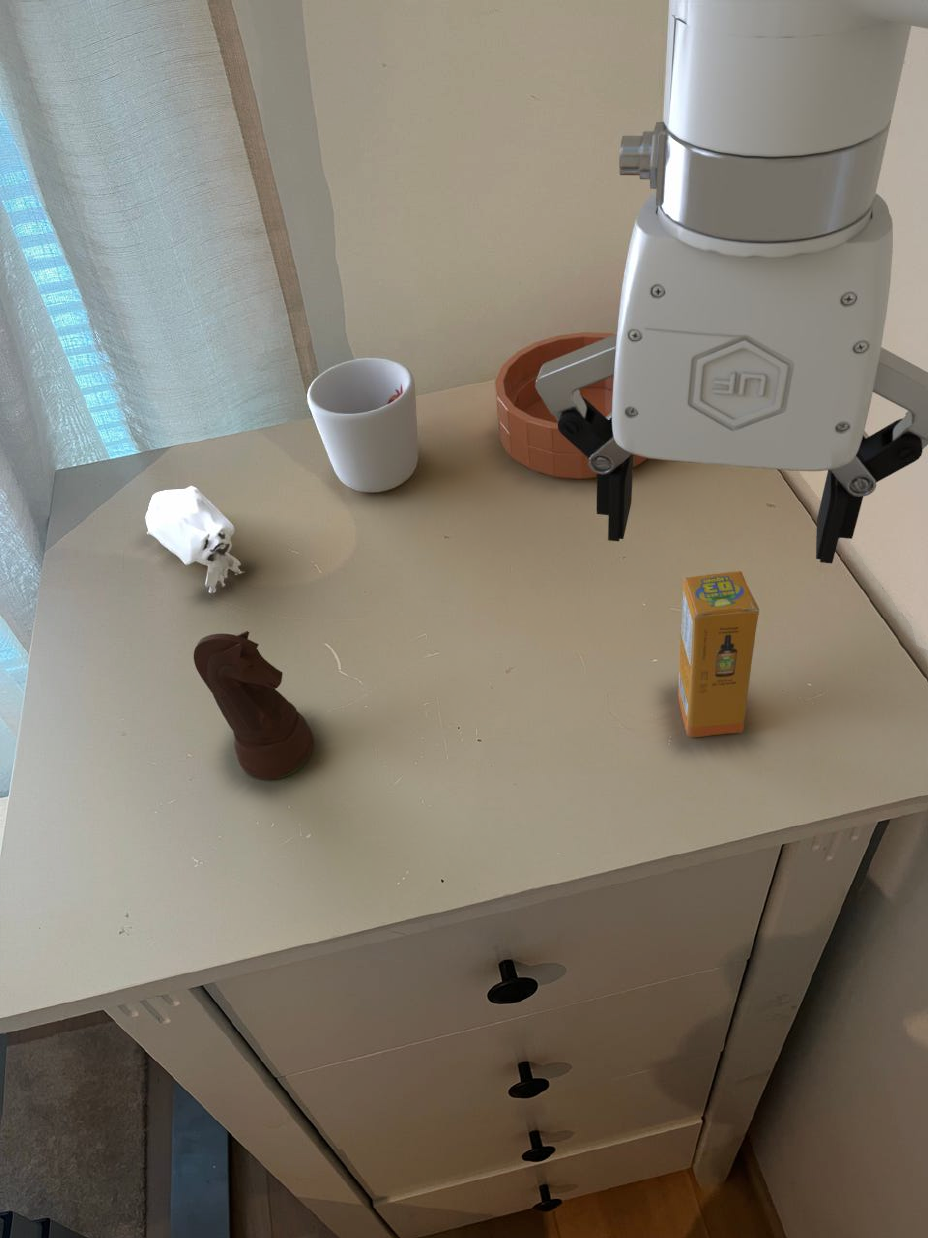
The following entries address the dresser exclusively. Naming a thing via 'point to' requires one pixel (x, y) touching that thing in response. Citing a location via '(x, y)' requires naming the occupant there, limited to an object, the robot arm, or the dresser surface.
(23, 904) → the dresser surface
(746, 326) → the robot arm
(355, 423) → the cup
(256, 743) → the chess piece
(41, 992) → the dresser surface
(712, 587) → the supplement box
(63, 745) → the dresser surface
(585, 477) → the bowl
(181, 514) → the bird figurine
